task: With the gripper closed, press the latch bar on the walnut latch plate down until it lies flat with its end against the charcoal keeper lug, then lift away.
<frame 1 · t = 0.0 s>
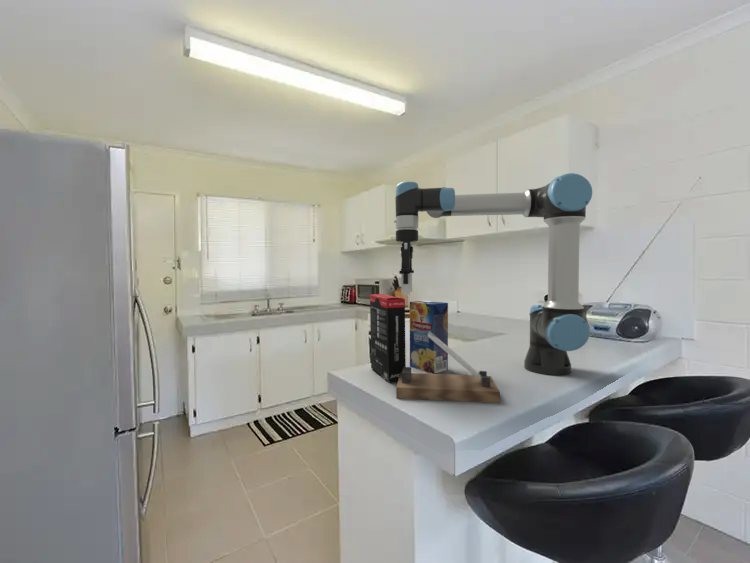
hand: (407, 293, 119), 28 cm above the counter, fingers open, 13 cm apart
juice carton: (428, 368, 129), on the counter
latch plate: (445, 391, 104), on the counter
latch bar: (457, 357, 103), point 10 cm above the counter, hinge at 40.0°
graphics card box: (387, 375, 121), on the counter
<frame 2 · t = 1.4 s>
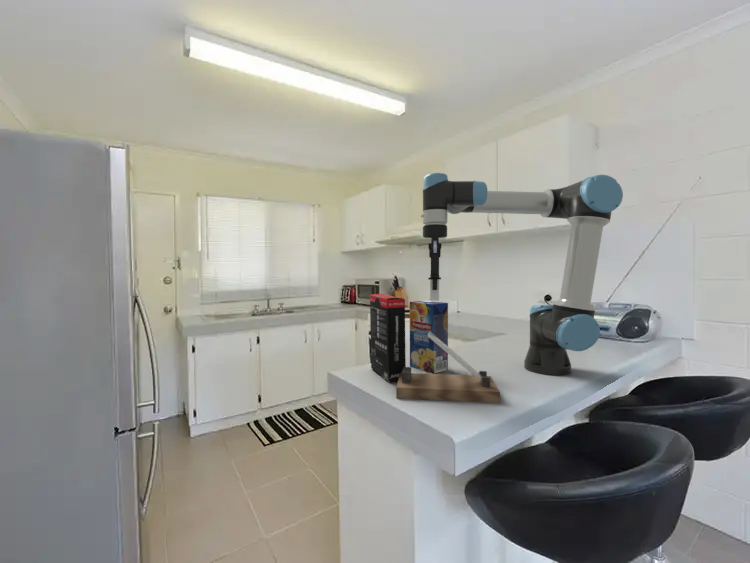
hand: (434, 300, 111), 26 cm above the counter, fingers closed
nothing on the counter moved.
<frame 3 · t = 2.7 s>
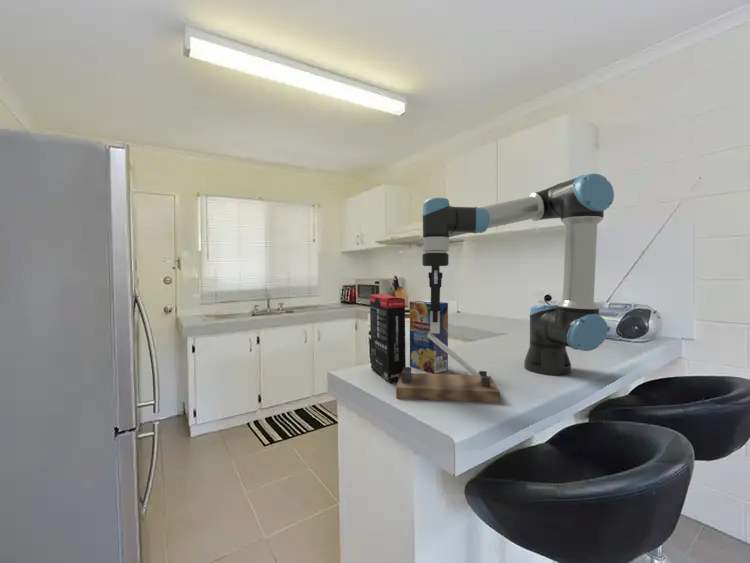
hand: (434, 332, 104), 17 cm above the counter, fingers closed
latch bar: (456, 357, 103), point 10 cm above the counter, hinge at 39.4°, touching gripper
everything else where it was.
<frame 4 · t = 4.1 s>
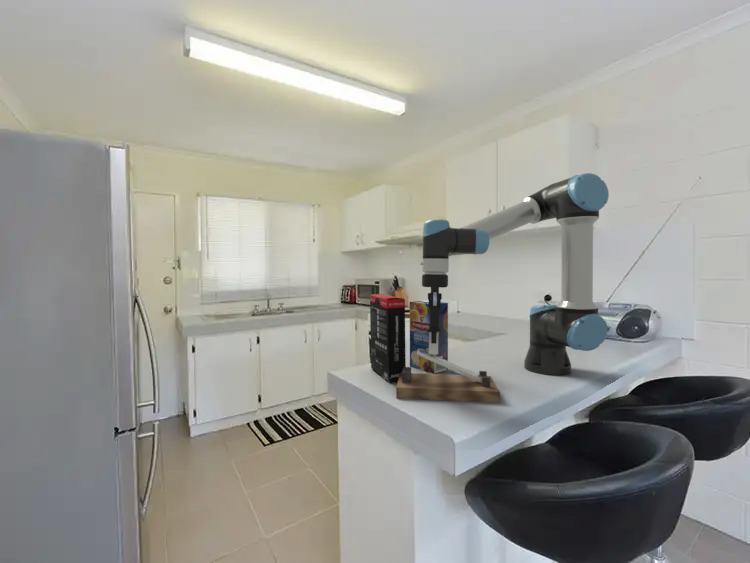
hand: (433, 353, 104), 11 cm above the counter, fingers closed
latch bar: (451, 366, 104), point 8 cm above the counter, hinge at 22.8°, touching gripper
everything else where it was.
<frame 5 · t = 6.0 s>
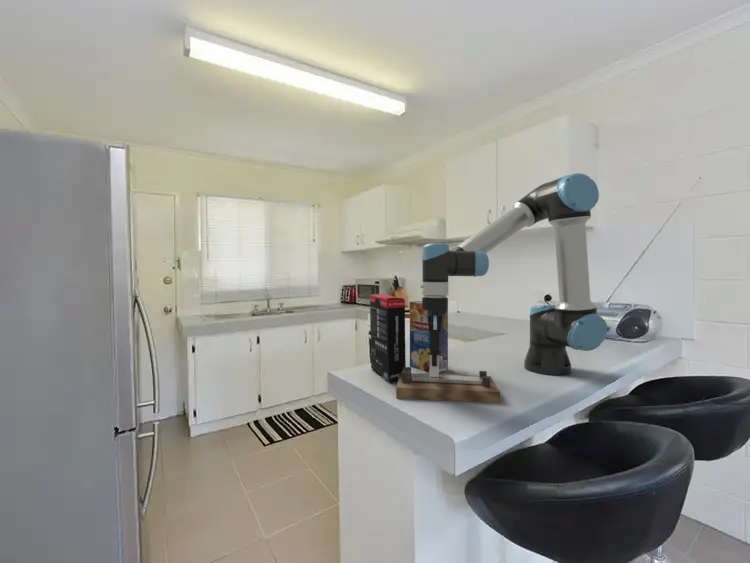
hand: (434, 376, 105), 5 cm above the counter, fingers closed
latch bar: (448, 379, 104), point 4 cm above the counter, hinge at 0.6°, touching gripper
everything else where it was.
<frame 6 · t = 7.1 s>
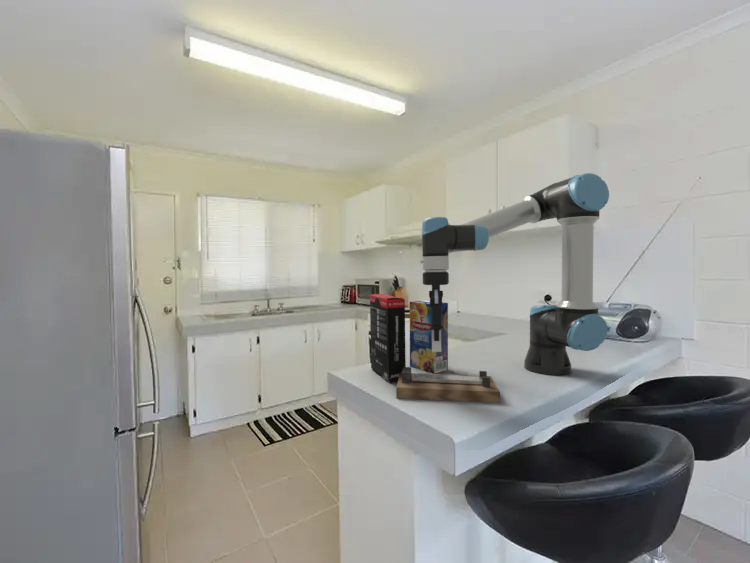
hand: (436, 351, 104), 12 cm above the counter, fingers closed
latch bar: (448, 379, 104), point 4 cm above the counter, hinge at 0.6°
everything else where it was.
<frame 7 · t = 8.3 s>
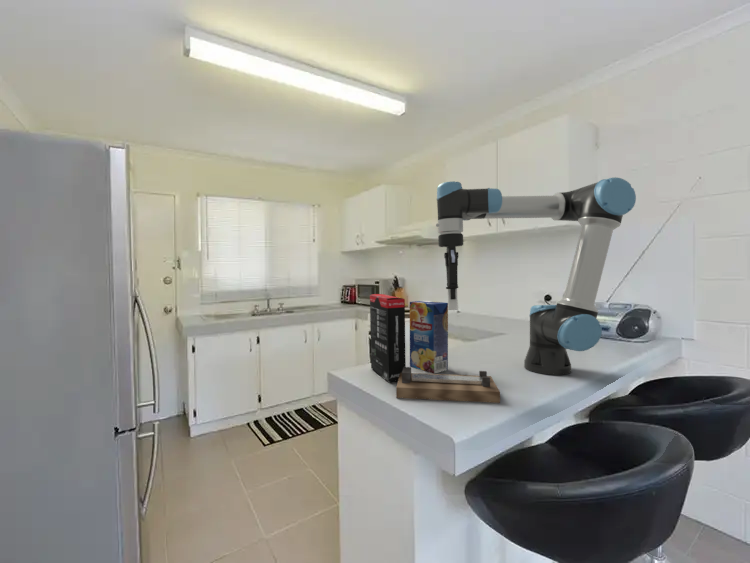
hand: (452, 309, 110), 23 cm above the counter, fingers closed
nothing on the counter moved.
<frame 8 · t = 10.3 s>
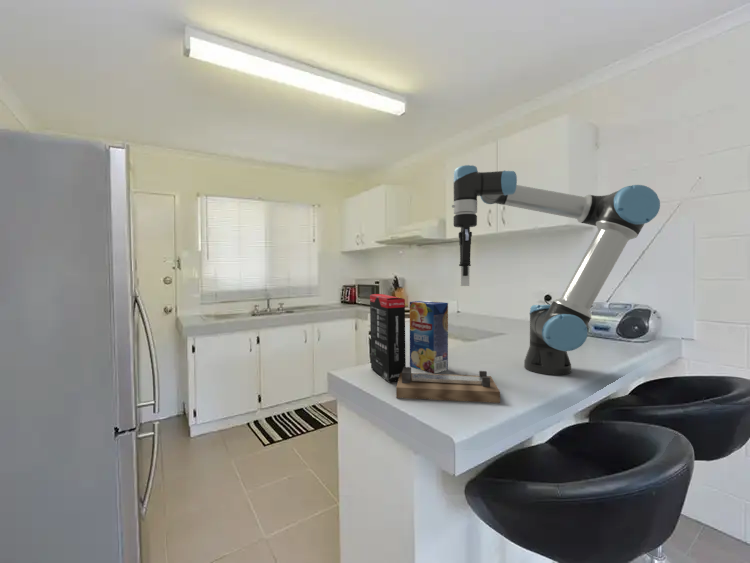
hand: (464, 285, 118), 30 cm above the counter, fingers closed
nothing on the counter moved.
at the end: latch bar at +1° (first picture: +40°) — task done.
